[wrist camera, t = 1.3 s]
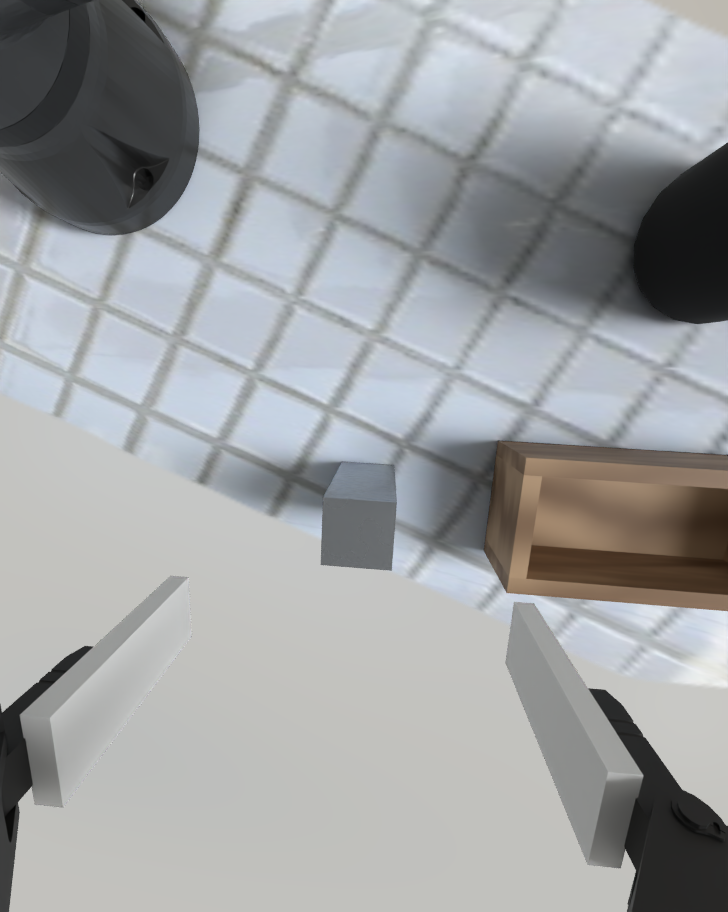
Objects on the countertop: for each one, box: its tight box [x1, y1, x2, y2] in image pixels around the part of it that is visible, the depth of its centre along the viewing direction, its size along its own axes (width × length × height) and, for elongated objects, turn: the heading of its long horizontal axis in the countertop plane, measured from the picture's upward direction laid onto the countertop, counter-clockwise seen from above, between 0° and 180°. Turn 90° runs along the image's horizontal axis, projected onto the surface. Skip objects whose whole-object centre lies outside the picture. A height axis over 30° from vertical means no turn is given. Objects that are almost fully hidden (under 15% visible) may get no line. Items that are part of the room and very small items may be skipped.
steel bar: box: [321, 462, 397, 571], centre depth 29 cm, size 4×4×10 cm
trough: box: [484, 441, 728, 611], centre depth 29 cm, size 10×21×7 cm, turn 87°
